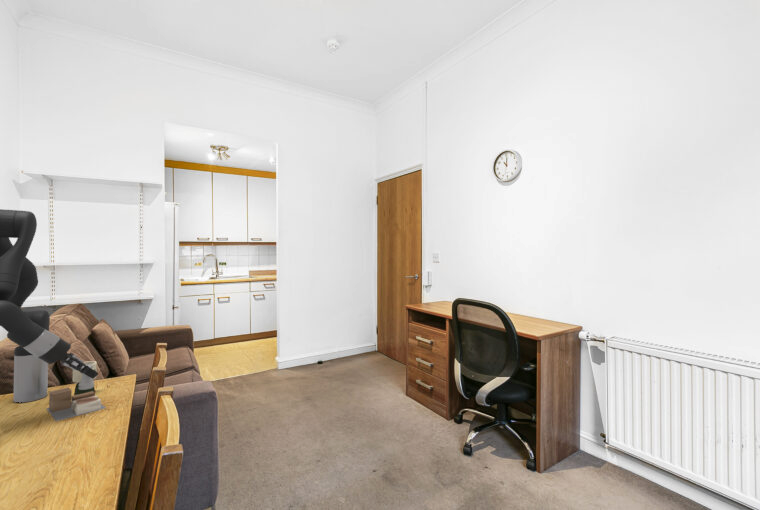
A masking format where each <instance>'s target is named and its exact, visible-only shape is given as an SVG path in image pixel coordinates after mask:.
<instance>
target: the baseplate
mask: <svg viewBox="0 0 760 510" xmlns="http://www.w3.org/2000/svg"><path fill="white" fill-rule="evenodd" d="M104 409H107V407H106V406H105V405H103V404H102V403H101V409H98V410H94V411H90V412H86V413H83V414H79V415H76V413H75V412H74V411H73V410H72V401H71V408H68V409H64V410H60V411H56V412H51V410H50V409H49V407H47V408H46V410H47V412H48V413H49V414H50V415H51V417H52V418H53V420H54V421H55V422H60V421H63V420H66V419H71V418H75V417H77V416H82V415H86V414H89V413H90V414H91V413H93V412H98V411H100V410H104Z"/></svg>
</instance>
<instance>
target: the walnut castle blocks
mask: <svg viewBox="0 0 760 510" xmlns="http://www.w3.org/2000/svg"><path fill="white" fill-rule="evenodd" d="M48 392H49V393H48V394H49V395H48V396H49V397H48V398H49V399H48V401H49V402H48V408H49V409H50V410H51V412H56V411H60V410H64V409H68V408H71V402H72V404H73V401H75V400H79V399H84V398H88V397H92V396H96V392H93V391H92V392H87V393H83V394H79V395H74V394H73V395H72V389H71V388H70V387H69V386H67V387H63V388H58V389H54V390H50V391H48Z"/></svg>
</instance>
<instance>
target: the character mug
mask: <svg viewBox="0 0 760 510" xmlns="http://www.w3.org/2000/svg"><path fill="white" fill-rule="evenodd" d="M84 363H85V365H86V364H87V365H89V364H92V366H93V367H92V369H93V370H94V371H96V372H97V373H98V370H97V368H98V367H97V366H98V365H97V364H98V362H97V361H96V360H95V361H94V360H93V361H92V360H89V361H84ZM81 379H82V373H80V372H79V371H78V370H73V369H72V383H76V384H75V388H74V392H73V396H74V395H79V394H83V393H87V392H92V391H93V392H94V393H96V391H95V389H96V388H95V386H94V387H93V388H91V389H86V390H79V389H78V387H79V386H78V385H79V383H80V381H81ZM95 379H97V376H96V377H95V378H93V380H95Z"/></svg>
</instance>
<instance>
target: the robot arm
mask: <svg viewBox="0 0 760 510" xmlns="http://www.w3.org/2000/svg"><path fill="white" fill-rule="evenodd" d="M37 226H38V223H37V217H36V215H35V214H34V212H32V211H29V210H27V211H26V210H18V209H17V210H16V209H0V327H2V328H3V329H4V330H5V331H6V332H7V334H6V336H7V337H6V338H7V339H8V340H10V341H11V342H13V343H14V344H16V345H17V346H16V347H15V348H14V350H13V355H14V356H13V358H14V359H13V403H16V402H19V403H18V404H20V403H21V402H22V403H29V402H33V401H38V400H41V399H43V398H46V397H47V396H48V384H49V383H48V381H49V380H48V378H49V377H48V376H49V375H48V374H49V365H52V364H55V363H56V362H58V361H60V362H59V363H60V364H61V365H63V366H65V367H68V368H69V369H71V370H72V371H73V370H78V371H79V372H80V373H84V374H85V375H87V376H89V377H90V378H92V379H93V378H95V377H96V378H97V376H98V375H99V373H98V371H97V372H96V371H94V370H93V369H91V368H89V366H88V365H85V363H84V362H85V361H84V360H82V359H80V358H79V357H78V356H77V355H75V354H74V353H73V352H70V353H68V352H69V351H70V350H71V348H72V345H71V344H70V343H69V342H67V341H66V340H64V339H63V338H62V337H60V336H58V335H57V334H55V333H53V332H51V331H50V321H51V320H50V319H51V318H50V313H49V311H48V310H30V311H24V310H23V309H22V307H23V305H24V303H25V302H26V300H28V298H29V297H30V296H31V295H32V294H33V292H35V290H36V289H37V287H38V285H39V279H38V278H39V277H38V272H37V267H36V266H35V264H34V263H33V262H32V261H31V260H30V258H28V257H27V255H28V253H29V250H30V248H31V246H32V243H33V240H34V238H35V236H36V232H37ZM12 238H13V239H16V242H15V243H14V244H13V243H12V242H11V240H10V239H12ZM82 366H85V367H84V368H83V369H81V367H82ZM96 378H95V379H96ZM93 380H94V379H93Z"/></svg>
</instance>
